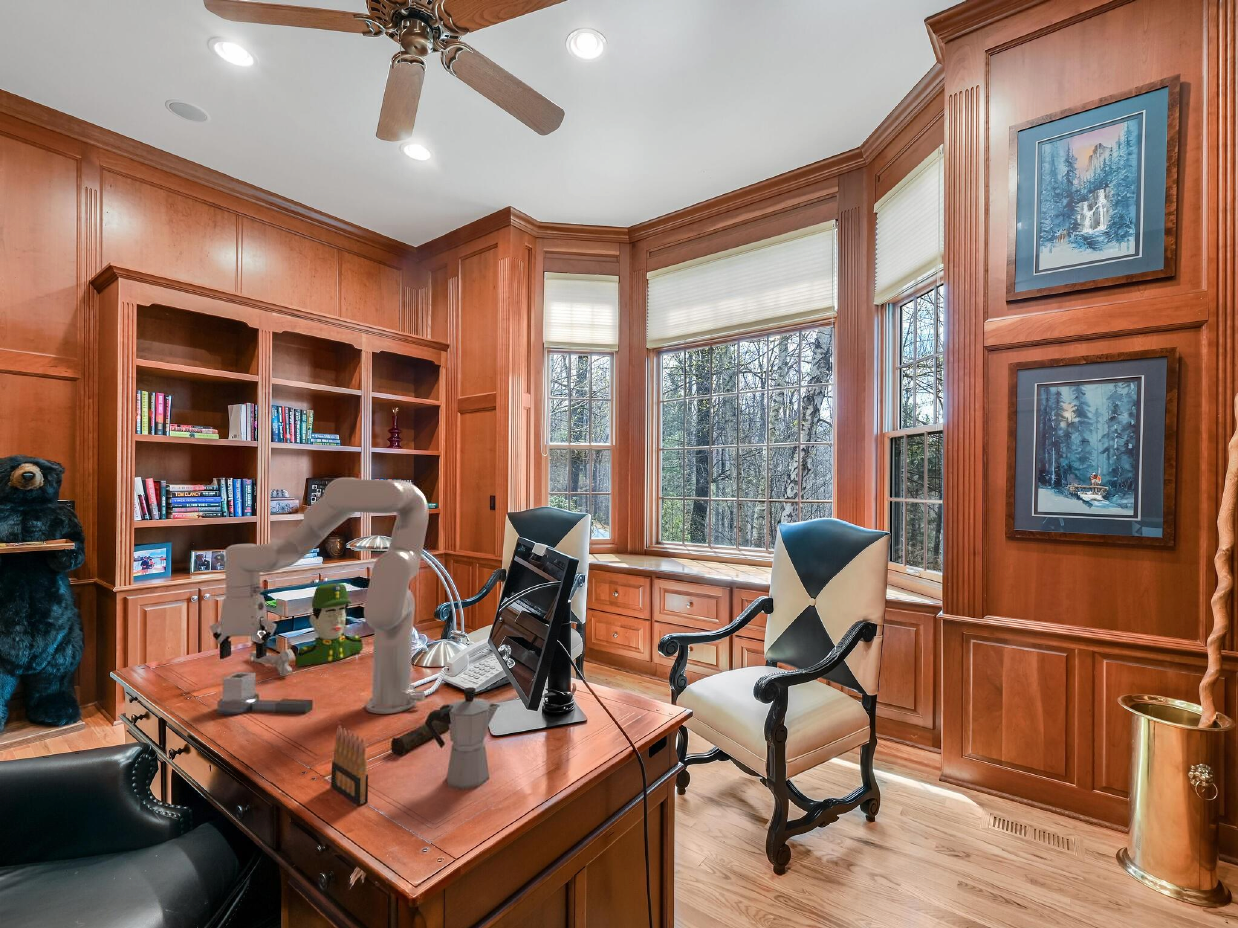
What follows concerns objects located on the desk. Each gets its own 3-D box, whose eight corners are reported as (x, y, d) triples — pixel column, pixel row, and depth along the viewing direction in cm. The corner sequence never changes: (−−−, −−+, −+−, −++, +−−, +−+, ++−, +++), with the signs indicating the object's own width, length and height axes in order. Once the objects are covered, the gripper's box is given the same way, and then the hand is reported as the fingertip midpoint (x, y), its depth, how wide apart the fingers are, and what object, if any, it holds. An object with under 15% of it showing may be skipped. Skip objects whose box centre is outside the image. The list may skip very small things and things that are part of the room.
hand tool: (402, 759, 123) (402, 737, 124) (389, 754, 125) (390, 733, 126) (465, 726, 140) (465, 707, 140) (453, 723, 142) (453, 704, 142)
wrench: (255, 667, 188) (295, 677, 170) (249, 669, 187) (289, 678, 169) (255, 642, 189) (295, 649, 171) (249, 644, 188) (288, 651, 170)
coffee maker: (495, 762, 122) (497, 677, 123) (503, 782, 114) (505, 692, 114) (422, 774, 116) (424, 686, 117) (424, 797, 108) (427, 701, 109)
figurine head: (304, 671, 176) (306, 590, 177) (287, 664, 183) (289, 586, 184) (371, 655, 194) (373, 581, 195) (353, 648, 201) (355, 577, 202)
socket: (254, 695, 150) (255, 672, 150) (241, 703, 145) (241, 679, 145) (236, 694, 151) (237, 672, 151) (222, 702, 146) (223, 678, 146)
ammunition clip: (368, 802, 106) (369, 737, 107) (358, 806, 105) (360, 741, 105) (339, 783, 113) (341, 722, 113) (330, 787, 111) (332, 725, 112)
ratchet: (319, 704, 151) (319, 683, 151) (298, 718, 142) (298, 696, 142) (234, 701, 153) (234, 680, 153) (208, 715, 144) (209, 693, 144)
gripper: (284, 588, 152) (284, 652, 152) (222, 589, 153) (222, 653, 152) (265, 594, 145) (265, 661, 144) (199, 594, 145) (200, 662, 145)
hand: (243, 657), depth 148 cm, fingers open, 9 cm apart
